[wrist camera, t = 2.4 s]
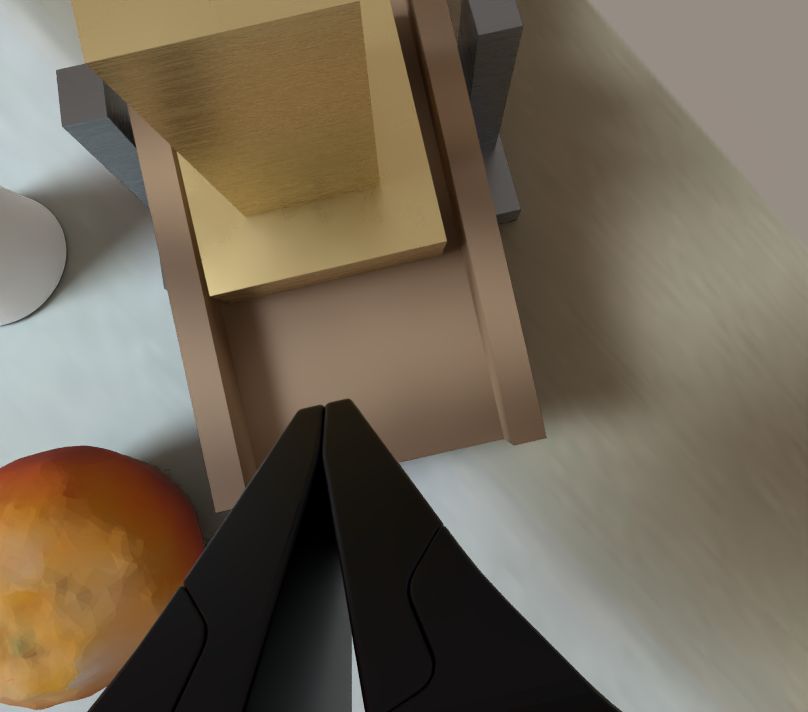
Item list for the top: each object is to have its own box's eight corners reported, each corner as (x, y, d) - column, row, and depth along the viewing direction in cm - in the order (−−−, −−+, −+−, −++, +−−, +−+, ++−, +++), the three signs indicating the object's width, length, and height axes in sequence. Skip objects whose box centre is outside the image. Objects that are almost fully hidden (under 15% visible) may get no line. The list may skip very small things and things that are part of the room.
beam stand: (517, 219, 24) (559, 108, 16) (174, 295, 23) (61, 217, 16) (471, 61, 25) (492, -105, 18) (151, 131, 25) (38, -8, 18)
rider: (441, 255, 18) (494, 112, 8) (231, 304, 18) (13, 223, 8) (385, 17, 18) (366, -421, 8) (176, 65, 18) (-109, -316, 8)
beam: (525, 420, 21) (559, 435, 16) (245, 483, 21) (202, 515, 16) (375, -239, 21) (368, -402, 17) (101, -180, 21) (19, -329, 17)
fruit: (196, 381, 21) (104, 501, 14) (252, 546, 24) (201, 723, 16) (-9, 421, 21) (-215, 563, 14) (69, 582, 24) (-67, 776, 16)
